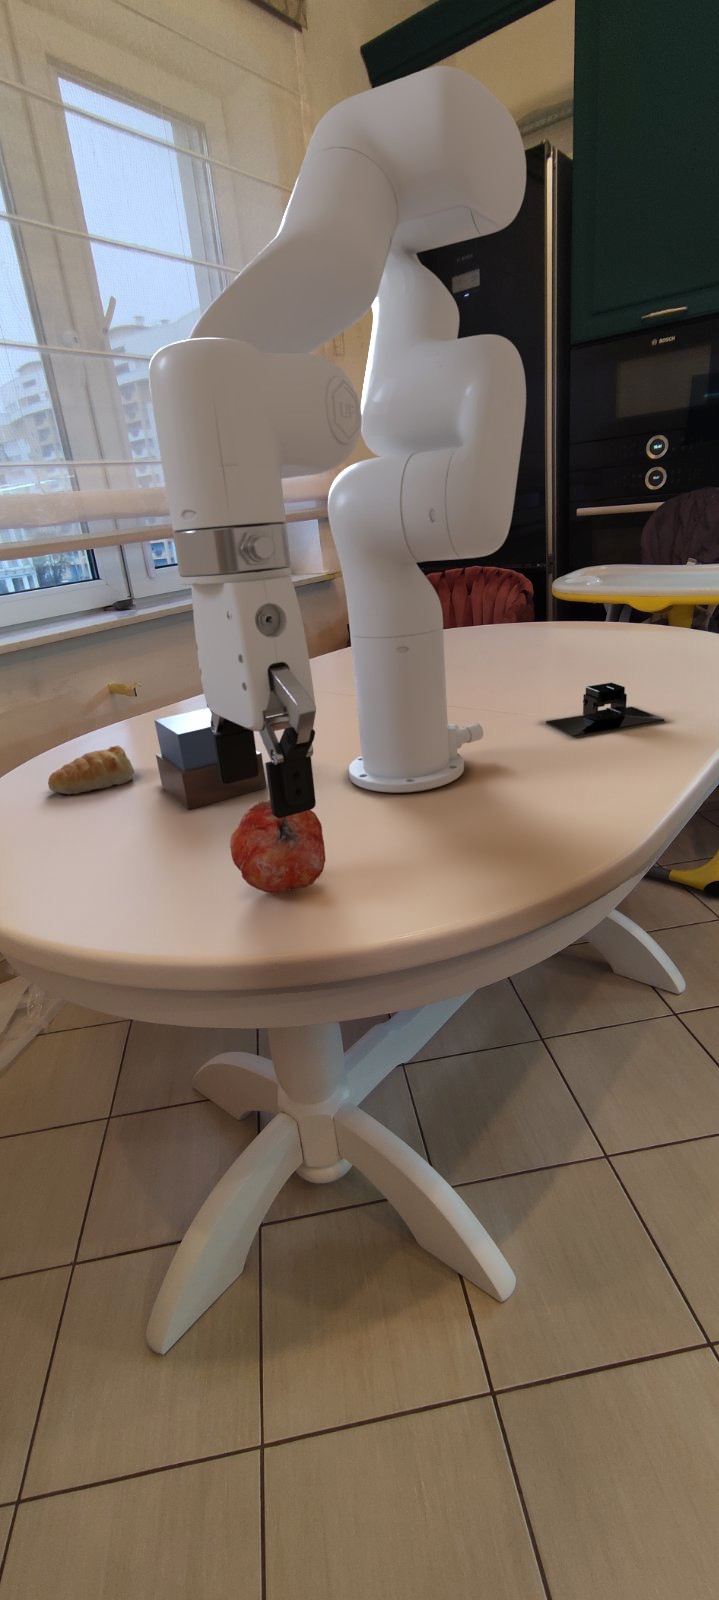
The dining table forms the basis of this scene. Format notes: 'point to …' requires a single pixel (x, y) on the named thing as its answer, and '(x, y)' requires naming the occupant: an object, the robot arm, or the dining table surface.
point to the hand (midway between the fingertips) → (265, 794)
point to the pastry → (92, 772)
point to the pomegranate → (278, 849)
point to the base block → (204, 783)
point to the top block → (187, 739)
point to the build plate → (604, 713)
